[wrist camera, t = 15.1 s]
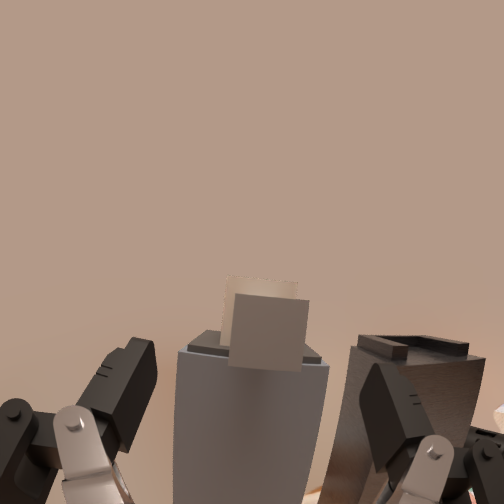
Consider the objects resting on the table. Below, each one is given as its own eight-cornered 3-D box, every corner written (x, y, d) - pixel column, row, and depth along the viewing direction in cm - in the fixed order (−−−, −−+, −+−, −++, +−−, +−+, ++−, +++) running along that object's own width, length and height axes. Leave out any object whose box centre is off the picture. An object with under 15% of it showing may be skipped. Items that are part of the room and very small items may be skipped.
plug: (280, 338, 27) (285, 285, 28) (330, 405, 9) (346, 267, 10) (227, 333, 27) (232, 280, 28) (189, 393, 9) (203, 252, 10)
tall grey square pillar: (264, 552, 23) (304, 338, 28) (267, 600, 14) (330, 359, 18) (190, 544, 24) (202, 328, 28) (178, 591, 14) (178, 344, 18)
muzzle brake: (442, 449, 49) (453, 413, 51) (528, 475, 23) (545, 434, 25) (421, 461, 46) (433, 423, 48) (514, 495, 20) (535, 450, 22)
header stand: (367, 542, 23) (430, 335, 28) (388, 582, 13) (487, 344, 18) (300, 551, 23) (352, 334, 28) (311, 597, 13) (397, 349, 18)
